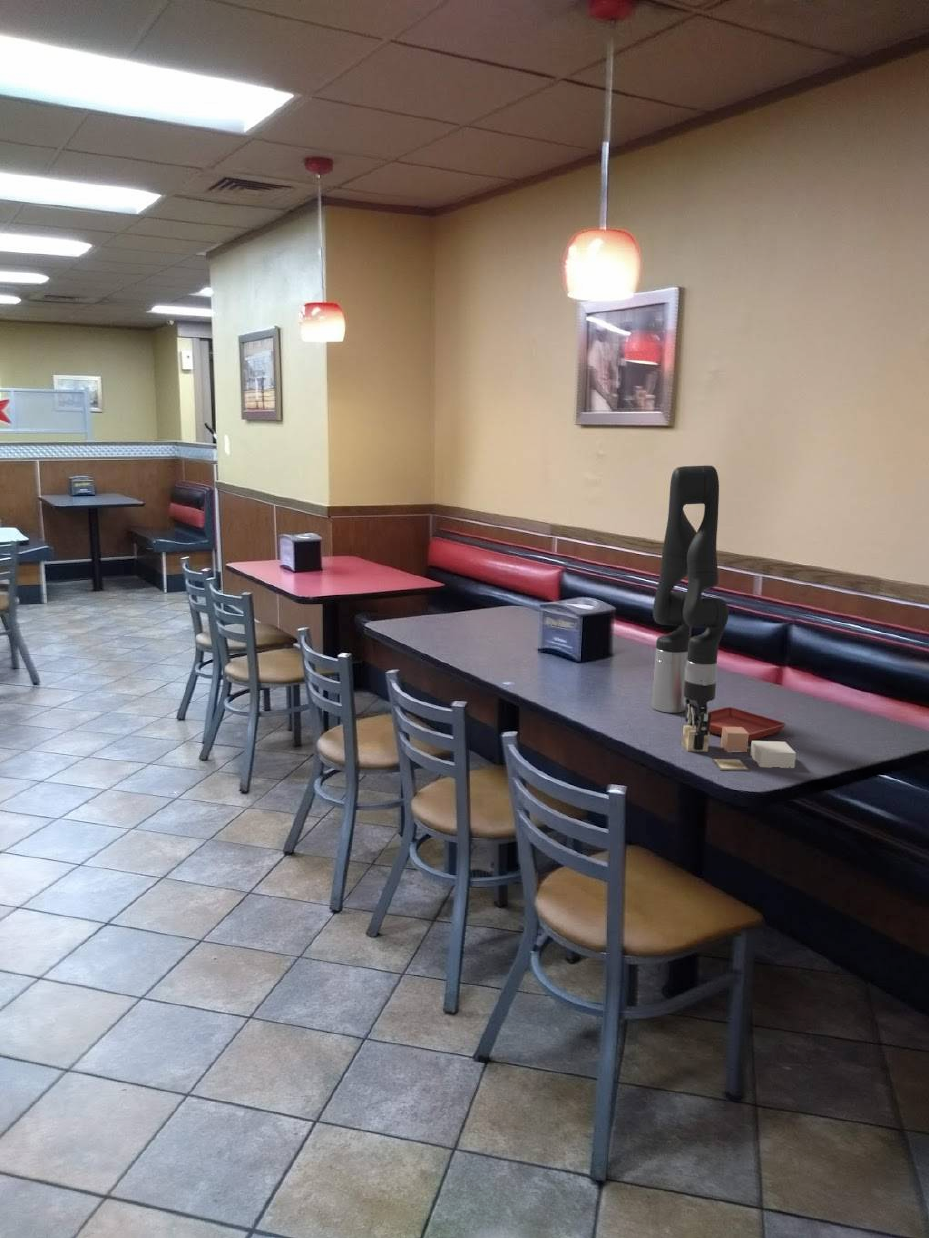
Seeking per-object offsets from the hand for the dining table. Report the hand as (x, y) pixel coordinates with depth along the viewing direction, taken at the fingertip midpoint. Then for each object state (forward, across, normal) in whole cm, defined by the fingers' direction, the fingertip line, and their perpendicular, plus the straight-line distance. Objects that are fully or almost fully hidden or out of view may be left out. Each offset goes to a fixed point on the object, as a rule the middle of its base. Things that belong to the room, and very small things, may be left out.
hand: (695, 745), depth 228 cm
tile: (+1, +12, +5) cm, 13 cm away
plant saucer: (+1, -14, +15) cm, 21 cm away
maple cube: (+1, 0, 0) cm, 1 cm away
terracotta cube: (+1, 0, +10) cm, 10 cm away
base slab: (+1, +9, +16) cm, 18 cm away
